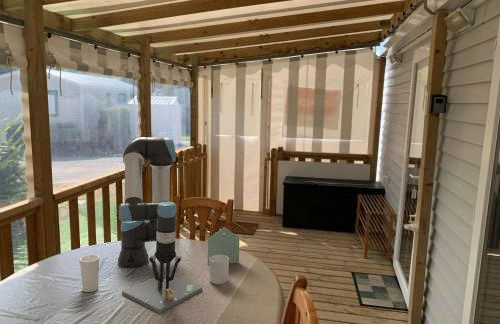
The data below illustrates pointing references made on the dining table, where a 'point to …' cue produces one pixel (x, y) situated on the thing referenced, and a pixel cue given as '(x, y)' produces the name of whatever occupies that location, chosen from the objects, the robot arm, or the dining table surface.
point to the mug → (219, 269)
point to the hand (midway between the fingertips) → (164, 295)
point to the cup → (89, 272)
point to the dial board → (153, 297)
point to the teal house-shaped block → (224, 245)
